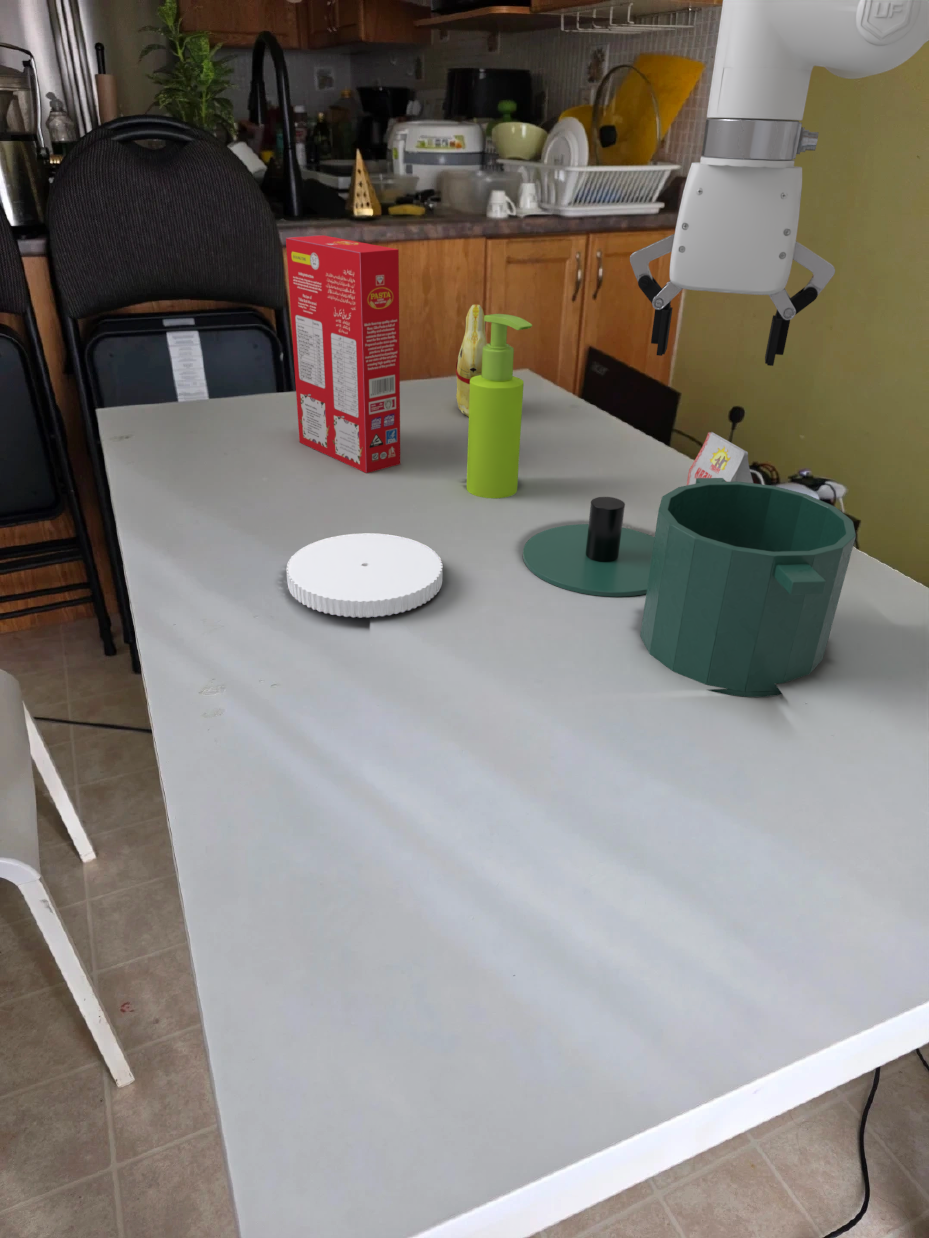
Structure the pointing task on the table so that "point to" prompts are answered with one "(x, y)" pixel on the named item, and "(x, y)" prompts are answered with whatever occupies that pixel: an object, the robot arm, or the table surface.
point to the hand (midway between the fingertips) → (714, 357)
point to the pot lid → (593, 554)
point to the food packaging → (346, 348)
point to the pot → (744, 584)
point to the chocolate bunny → (470, 356)
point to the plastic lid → (364, 575)
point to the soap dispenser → (495, 415)
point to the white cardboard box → (720, 462)
